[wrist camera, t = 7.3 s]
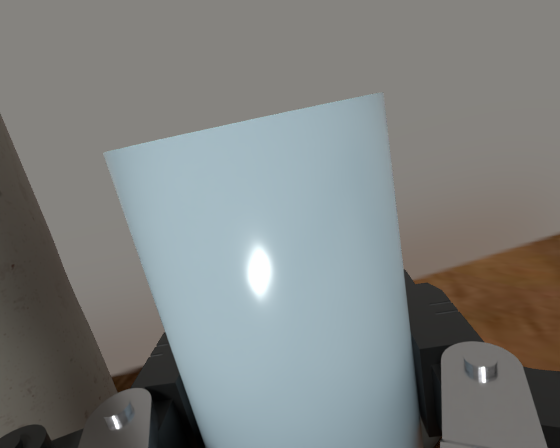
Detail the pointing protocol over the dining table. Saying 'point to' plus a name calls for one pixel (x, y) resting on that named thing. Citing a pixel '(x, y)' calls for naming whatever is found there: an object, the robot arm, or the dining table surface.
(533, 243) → the dining table surface
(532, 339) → the dining table surface
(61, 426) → the thermos bottle
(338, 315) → the tall pale blue cylinder
